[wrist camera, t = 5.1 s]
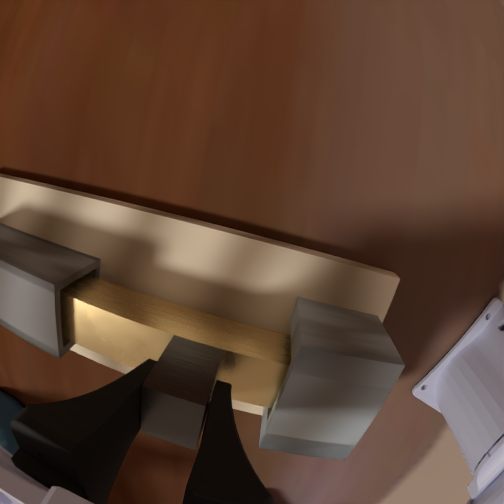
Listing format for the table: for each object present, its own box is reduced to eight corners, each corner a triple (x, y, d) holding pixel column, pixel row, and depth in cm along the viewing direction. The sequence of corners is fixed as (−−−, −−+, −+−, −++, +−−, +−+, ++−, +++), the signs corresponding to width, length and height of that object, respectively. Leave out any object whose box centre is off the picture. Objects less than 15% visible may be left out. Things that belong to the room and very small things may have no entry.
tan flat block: (333, 344, 17) (352, 434, 10) (315, 384, 18) (323, 474, 11) (40, 256, 17) (-35, 292, 11) (41, 295, 18) (-26, 338, 12)
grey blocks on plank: (393, 272, 17) (438, 319, 11) (327, 416, 21) (335, 481, 15) (-5, 172, 19) (-62, 180, 12) (-3, 299, 22) (-48, 326, 16)
